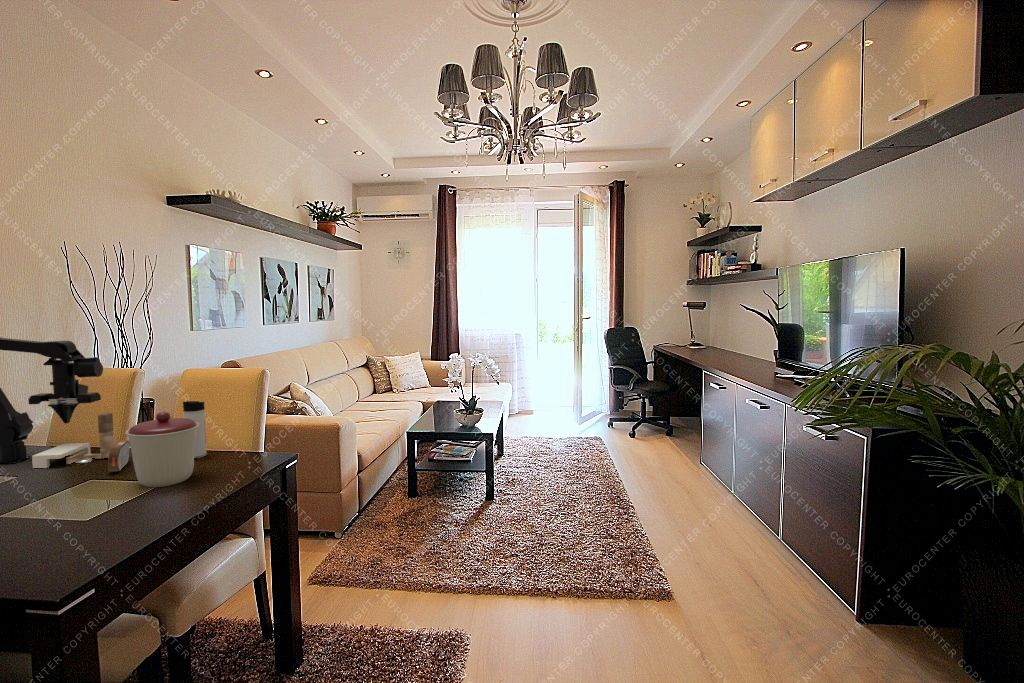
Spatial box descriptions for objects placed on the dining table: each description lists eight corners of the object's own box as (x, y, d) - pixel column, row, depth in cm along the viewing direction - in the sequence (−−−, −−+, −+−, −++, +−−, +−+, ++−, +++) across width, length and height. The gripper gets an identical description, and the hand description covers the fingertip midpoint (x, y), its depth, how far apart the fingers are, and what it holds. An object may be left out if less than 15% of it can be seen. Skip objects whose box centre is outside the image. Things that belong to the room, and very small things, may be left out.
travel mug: (179, 459, 171) (177, 401, 170) (197, 453, 178) (194, 398, 176) (194, 461, 169) (191, 402, 168) (211, 455, 176) (208, 399, 174)
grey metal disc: (71, 466, 165) (71, 462, 164) (81, 462, 169) (80, 457, 169) (86, 465, 165) (86, 461, 165) (95, 461, 170) (95, 457, 169)
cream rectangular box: (32, 469, 160) (32, 455, 160) (65, 456, 174) (64, 443, 174) (60, 468, 162) (60, 454, 161) (90, 455, 175) (90, 442, 175)
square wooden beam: (66, 464, 164) (63, 419, 163) (84, 456, 172) (82, 413, 171) (98, 463, 165) (95, 418, 164) (114, 455, 174) (112, 413, 173)
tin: (121, 462, 168) (119, 437, 168) (132, 460, 170) (131, 436, 169) (107, 476, 155) (105, 449, 154) (119, 474, 156) (118, 448, 155)
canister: (182, 467, 163) (179, 403, 161) (213, 478, 154) (211, 410, 152) (116, 485, 147) (112, 414, 146) (146, 497, 138) (142, 422, 136)
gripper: (109, 374, 180) (112, 417, 181) (51, 374, 177) (54, 418, 178) (88, 378, 169) (91, 424, 170) (25, 379, 166) (28, 426, 167)
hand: (66, 423), depth 172 cm, fingers closed
